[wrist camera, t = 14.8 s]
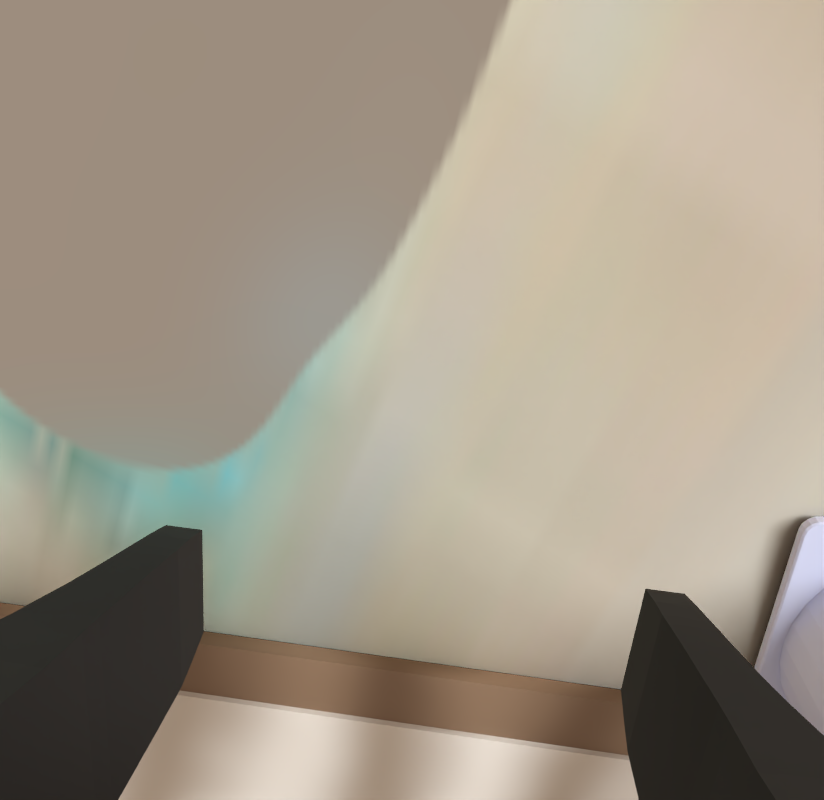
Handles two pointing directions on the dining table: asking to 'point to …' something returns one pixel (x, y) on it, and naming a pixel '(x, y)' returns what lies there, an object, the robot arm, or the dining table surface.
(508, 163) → the dining table surface
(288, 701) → the drawing pad
